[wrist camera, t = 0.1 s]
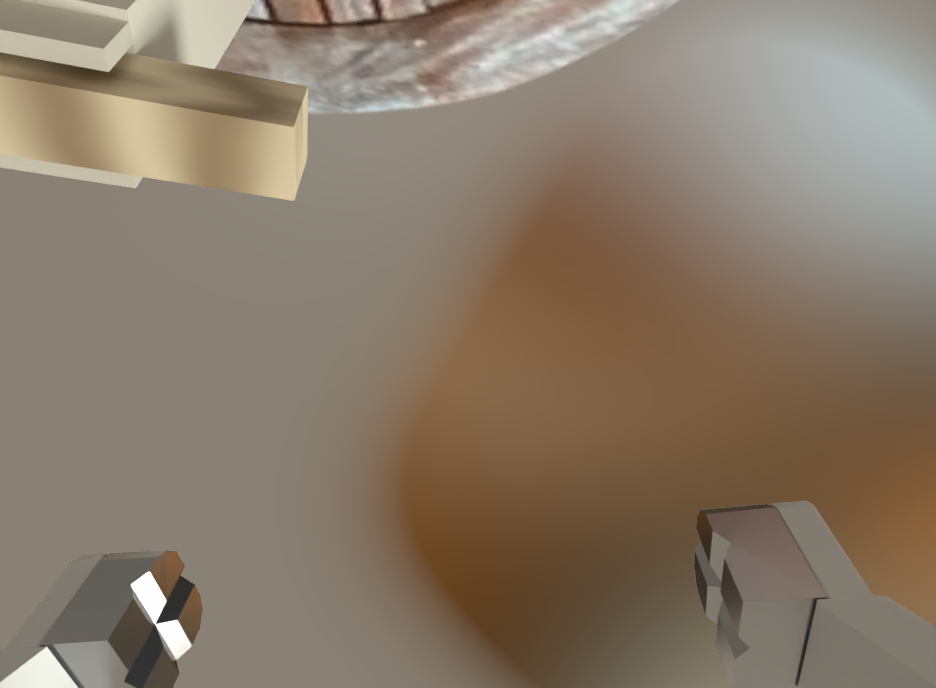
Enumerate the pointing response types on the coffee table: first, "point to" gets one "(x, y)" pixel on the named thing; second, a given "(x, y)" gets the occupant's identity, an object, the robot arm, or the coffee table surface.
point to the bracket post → (115, 45)
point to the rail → (157, 122)
